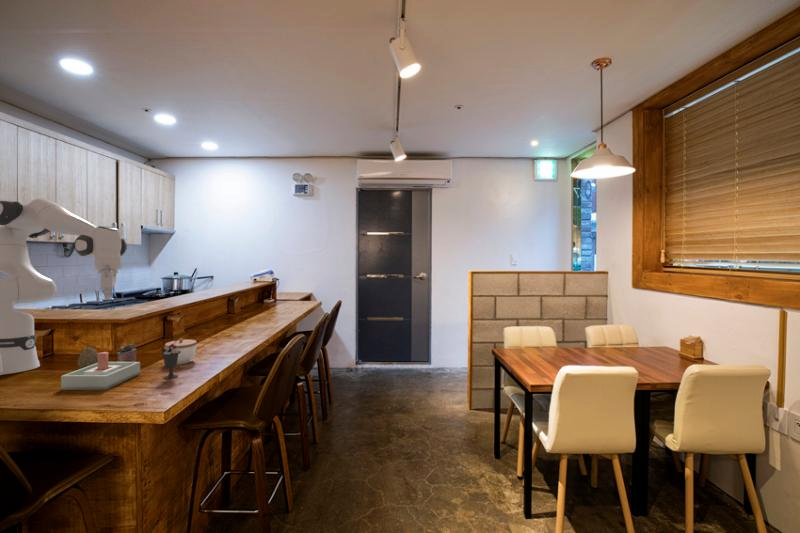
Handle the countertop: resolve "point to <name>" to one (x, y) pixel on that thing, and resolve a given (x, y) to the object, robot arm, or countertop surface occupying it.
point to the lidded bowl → (184, 349)
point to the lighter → (127, 353)
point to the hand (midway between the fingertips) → (108, 298)
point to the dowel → (103, 361)
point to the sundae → (170, 359)
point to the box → (100, 376)
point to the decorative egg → (88, 357)
